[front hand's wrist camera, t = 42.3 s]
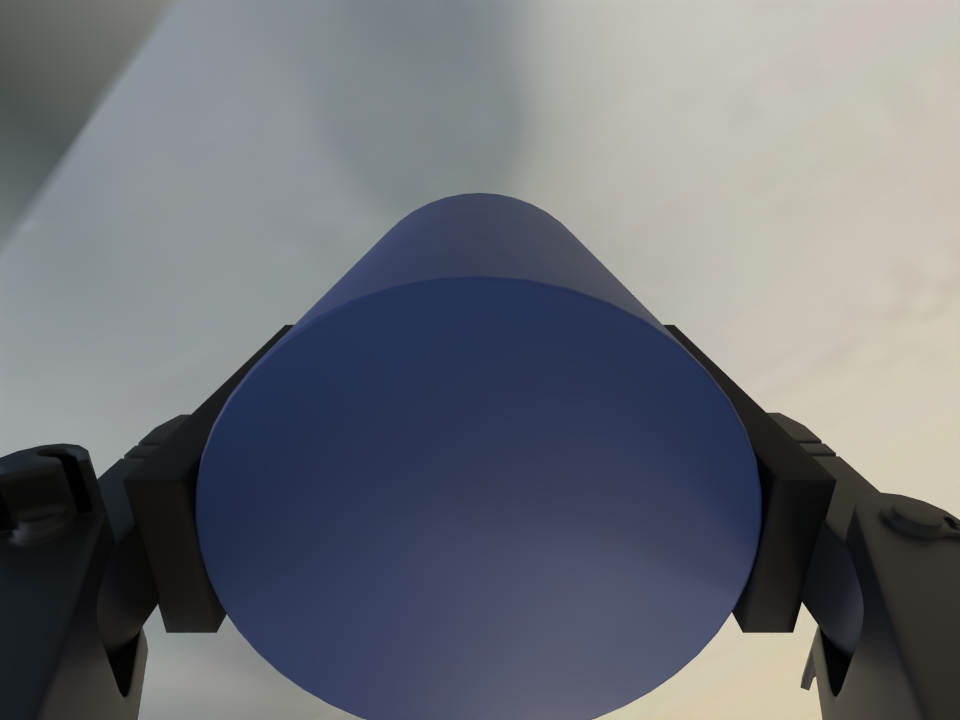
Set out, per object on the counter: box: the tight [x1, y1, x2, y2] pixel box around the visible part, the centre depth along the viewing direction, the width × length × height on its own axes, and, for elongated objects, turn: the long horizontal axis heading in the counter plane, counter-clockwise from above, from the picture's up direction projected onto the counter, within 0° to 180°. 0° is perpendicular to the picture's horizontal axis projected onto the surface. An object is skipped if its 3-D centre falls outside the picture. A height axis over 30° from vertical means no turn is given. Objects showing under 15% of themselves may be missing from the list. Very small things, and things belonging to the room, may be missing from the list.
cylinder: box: [195, 193, 762, 720], centre depth 13 cm, size 8×8×11 cm
